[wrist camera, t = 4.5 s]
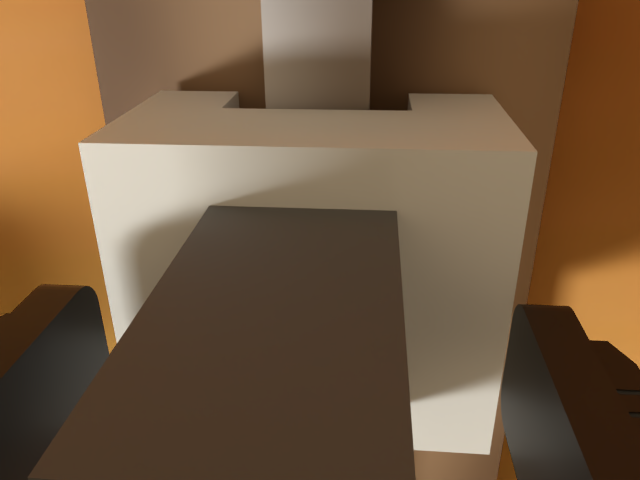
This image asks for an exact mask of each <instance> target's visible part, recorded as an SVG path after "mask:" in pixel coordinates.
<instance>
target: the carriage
mask: <svg viewBox="0 0 640 480" xmlns="http://www.w3.org/2000/svg"><path fill="white" fill-rule="evenodd" d="M78 144H79V150H80V155H81V160H82V165H83V170H84V176H85V181H86V186H87V191H88V196H89V202H90V207H91V212H92V217H93V222H94V228H95V233H96V238H97V243H98V248H99V254H100V259H101V264H102V269H103V274H104V280H105V285H106V290H107V295H108V300H109V306H110V311H111V316H112V321H113V326H114V331H115V337H116V342H117V344H116V346H115V347H114V349H113V350H112V352H111V353H110V355H109V356H108V358H107V359H106V361H105V362H104V364H103V365H102V367H101V368H100V370H99V371H98V373H97V374H96V376H95V377H94V379H93V380H92V382H91V383H90V385H89V386H88V388H87V389H86V391H85V392H84V394H83V395H82V397H81V398H80V400H79V401H78V403H77V404H76V406H75V407H74V409H73V410H72V412H71V413H70V415H69V416H68V418H67V419H66V421H65V422H64V424H63V425H62V427H61V428H60V430H59V431H58V433H57V434H56V436H55V437H54V439H53V440H52V442H51V443H50V445H49V446H48V448H47V449H46V451H45V452H44V454H43V455H42V457H41V458H40V460H39V461H38V463H37V464H36V466H35V467H34V469H33V470H32V472H31V473H30V475H29V476H28V477H27V478H28V480H416V477H415V462H414V450H421V451H438V452H454V453H470V454H487V455H489V454H490V448H491V441H492V435H493V429H494V423H495V416H496V410H497V404H498V397H499V391H500V385H501V379H502V372H503V366H504V360H505V353H506V347H507V341H508V335H509V328H510V322H511V316H512V309H513V303H514V297H515V291H516V284H517V278H518V272H519V265H520V259H521V253H522V246H523V240H524V234H525V228H526V221H527V215H528V209H529V202H530V196H531V190H532V184H533V177H534V171H535V165H536V158H537V150H536V149H535V148H534V147H533V145H532V144H531V143H530V142H529V140H528V139H527V138H526V137H525V135H524V134H523V133H522V132H521V130H520V129H519V128H518V126H517V125H516V124H515V123H514V121H513V120H512V119H511V118H510V116H509V115H508V114H507V113H506V111H505V110H504V109H503V108H502V106H501V105H500V104H499V103H498V101H497V100H496V99H495V98H494V96H493V95H492V94H418V93H409V94H408V111H395V110H321V109H248V108H239V95H238V91H159V92H158V93H156V94H155V95H153V96H151V97H150V98H148V99H147V100H145V101H144V102H142V103H140V104H139V105H137V106H136V107H134V108H132V109H131V110H129V111H128V112H126V113H125V114H123V115H121V116H120V117H118V118H117V119H115V120H114V121H112V122H110V123H109V124H107V125H106V126H104V127H103V128H101V129H99V130H98V131H96V132H95V133H93V134H92V135H90V136H88V137H87V138H85V139H84V140H82V141H81V142H79V143H78Z"/></svg>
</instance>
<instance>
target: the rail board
mask: <svg viewBox="0 0 640 480" xmlns="http://www.w3.org/2000/svg"><path fill="white" fill-rule="evenodd" d="M578 1H579V0H85V5H86V11H87V17H88V23H89V29H90V35H91V40H92V46H93V52H94V58H95V64H96V70H97V76H98V82H99V88H100V94H101V100H102V106H103V111H104V117H105V123H106V125H107V124H109V123H110V122H112V121H114V120H115V119H117V118H118V117H120V116H121V115H123V114H125V113H126V112H128V111H129V110H131V109H132V108H134V107H136V106H137V105H139V104H140V103H142V102H144V101H145V100H147V99H148V98H150V97H151V96H153V95H155V94H156V93H158V92H159V91H238V95H239V108H248V109H321V110H395V111H408V94H409V93H418V94H492V95H493V96H494V98H495V99H496V100H497V101H498V103H499V104H500V105H501V106H502V108H503V109H504V110H505V111H506V113H507V114H508V115H509V116H510V118H511V119H512V120H513V121H514V123H515V124H516V125H517V126H518V128H519V129H520V130H521V132H522V133H523V134H524V135H525V137H526V138H527V139H528V140H529V142H530V143H531V144H532V145H533V147H534V148H535V149H536V150H537V158H536V165H535V171H534V177H533V184H532V190H531V196H530V202H529V209H528V215H527V221H526V228H525V234H524V240H523V246H522V253H521V259H520V265H519V272H518V278H517V284H516V291H515V297H514V303H513V309H512V316H511V322H512V317H513V313H514V310H515V307H516V306H517V305H518V304H526V305H527V300H528V294H529V288H530V282H531V276H532V270H533V265H534V259H535V253H536V247H537V241H538V235H539V229H540V224H541V218H542V212H543V206H544V200H545V194H546V188H547V183H548V177H549V171H550V165H551V159H552V153H553V147H554V142H555V136H556V130H557V124H558V118H559V112H560V106H561V101H562V95H563V89H564V83H565V77H566V71H567V65H568V60H569V54H570V48H571V42H572V36H573V30H574V24H575V19H576V13H577V7H578ZM511 322H510V328H509V335H510V329H511ZM509 335H508V341H509ZM508 341H507V347H508ZM507 347H506V353H505V360H506V354H507ZM505 360H504V366H505ZM504 366H503V372H504ZM503 372H502V379H503ZM502 379H501V385H502ZM501 385H500V391H499V397H498V404H497V410H496V416H495V423H494V429H493V435H492V441H491V448H490V454H489V455H487V454H470V453H454V452H438V451H421V450H414V462H415V477H416V480H497V476H498V470H499V464H500V458H501V452H502V446H503V440H504V435H505V431H504V427H503V422H502V415H501Z"/></svg>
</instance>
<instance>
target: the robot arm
mask: <svg viewBox="0 0 640 480" xmlns="http://www.w3.org/2000/svg"><path fill="white" fill-rule="evenodd" d="M108 356H109V351H108V346H107V341H106V336H105V331H104V326H103V321H102V316H101V311H100V306H99V301H98V298H97V295H96V293H95V291H94V290H93V289H92V288H91V287H89V286H75V285H50V284H43V285H40V286H38V287H37V288H36V289H35V290H34V291H33V292H32V293H31V294H30V295H29V296H27V297H26V298H25V299H24V300H23V301H22V302H21V303H20V304H19V305H18V306H17V307H16V308H15V309H14V310H13V311H12V312H11V313H10V314H9V313H6V314H4V315H3V316H1V317H0V480H28V478H27V477H28V476H29V475H30V473H31V472H32V470H33V469H34V467H35V466H36V464H37V463H38V461H39V460H40V458H41V457H42V455H43V454H44V452H45V451H46V449H47V448H48V446H49V445H50V443H51V442H52V440H53V439H54V437H55V436H56V434H57V433H58V431H59V430H60V428H61V427H62V425H63V424H64V422H65V421H66V419H67V418H68V416H69V415H70V413H71V412H72V410H73V409H74V407H75V406H76V404H77V403H78V401H79V400H80V398H81V397H82V395H83V394H84V392H85V391H86V389H87V388H88V386H89V385H90V383H91V382H92V380H93V379H94V377H95V376H96V374H97V373H98V371H99V370H100V368H101V367H102V365H103V364H104V362H105V361H106V359H107V358H108ZM501 415H502V422H503V427H504V431H505V435H506V439H507V443H508V446H509V450H510V454H511V458H512V462H513V465H514V469H515V473H516V477H517V480H640V369H639V368H638V366H637V364H635V363H634V362H633V361H632V360H630V359H629V358H628V357H627V356H625V355H624V354H623V353H622V352H620V351H619V350H618V349H617V348H615V347H614V346H613V345H612V344H610V343H609V342H608V341H592V340H589V339H588V337H587V335H586V333H585V331H584V330H583V328H582V326H581V324H580V322H579V320H578V318H577V317H576V315H575V313H574V311H573V310H572V308H571V307H569V306H551V305H526V304H518V305H517V306H516V307H515V310H514V313H513V317H512V322H511V329H510V335H509V341H508V347H507V354H506V360H505V366H504V372H503V379H502V385H501Z"/></svg>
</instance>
